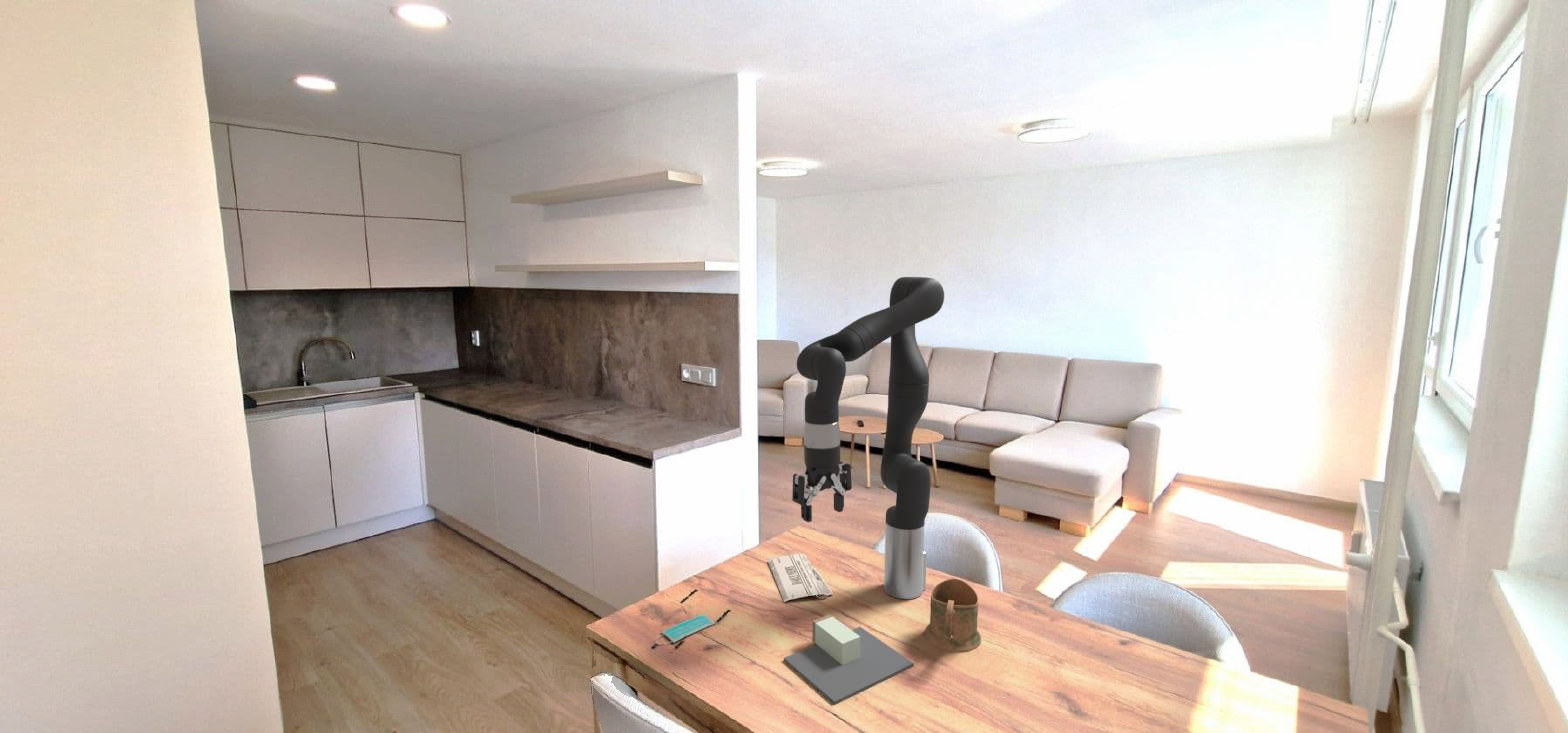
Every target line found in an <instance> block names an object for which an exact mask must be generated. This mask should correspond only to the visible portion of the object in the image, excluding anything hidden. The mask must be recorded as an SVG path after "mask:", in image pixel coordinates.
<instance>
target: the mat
mask: <svg viewBox="0 0 1568 733" xmlns="http://www.w3.org/2000/svg"><path fill="white" fill-rule="evenodd" d="M851 630H852V631H853V632H855V633H856V634H857V635H859V636H860V658H858V659H856V660H853V661H851V662H849V663H846V664H844V665H841V664H840V663H839V662H838V661H837V660H835V659H834V658H833V657H832V656H830V655H829V654H828V653H827V652H825V651H824V650H823V649H822V648H821V647H819V646H818V645H817V644H816V643H815V644H814V645H811V646H810V647H808V648H805V649H802V650H800V651H797V652H794V653H792V654H790V655H788V656H785V657H783V661H784V662H785V664H787V665H788V666H789V667H791V669H792V670H794V671H795V672H796V673H798V674H799V675H800V676H801V677H802V678H803V679H804V680H806V682H808V683H809V684H810V685H811V686H812V687H813V688H815V689H816V690H817V691H818V692H820V693H821V695H823V696H824V697H825V698H827V700H829V701H830V702H831V703H832V704H833V705H837V704H839V703H841V702H843V701H845V700H848V699H849V698H851V697H853V696H856V695H857V694H860V693H861V692H864V691H866V690H867V689H869V688H872V687H874V686H876V685H877V684H880V683H883V682H884V681H886V680H888V679H890V678H892V677H894V676H896V675H898V674H901V673H903V672H905V671H906V670H908V669H911V668H913V667H915V663H914V662H913V661H912V660H910V659H909V658H907V657H905V656H904V655H903V654H902V653H899V651H897V650H895V649H894V648H893V647H891V646H889V645H888V644H887V643H885V642H883V641H882V640H881V639H879V638H878V637H876V636H875V635H873V634H872V633H870V632H869V631H867V630H866V629H864V628H863V627H862V626H859V627H856V628H853V629H851Z"/></svg>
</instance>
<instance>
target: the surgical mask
mask: <svg viewBox="0 0 1568 733" xmlns="http://www.w3.org/2000/svg"><path fill="white" fill-rule="evenodd" d="M698 591H699V589H694V590H693V591H691V592H690V593H689V594H688V595H687V596H686V597H685V598H682V600H681V601H680V602H679V603H680V604H682V605H683V603H685V602H686V601H687V600H689V599H690V597H691V596H693V595H695V593H697V592H698ZM682 605H681V608H682V609H683V611H684V612H685V614H686V615H688V614H687V612H686V610H685V609H684V607H683V606H682ZM731 611H732V610H731V609H727V610H726V611H724V612H723V614H722V615H721V616H720V617H718V618H716V620H715V621H713V620H712V619H710V618H709V617H708V616H709V615H710V614H707V615H706V614H704V615H702V614H701V615H696V616H697V617H696V616H694V617H693V618H689V619H688V620H685V621H682V622H680V623H677V624H676V625H673V626H671V627H669V628H667V629H666V630H663V631H661V632H660V633H661V635H660V636H659V635H658V636H657V638H656V639H655V643H654V645H652V647H650V648H651V649H656V647H658V646H659V647H660V646H661V645H662V643H660V642H658V641H657V640H658V639H659V638H661V637H663V636H665V638H667V639H668V640H670V641H668V642H665V643H664V645H667V644H670V643H676V642H679V641H680V642H679V643H677V645H675V646H674V649H677V650H678V648H679V647H680V646H682V644H683V643H686V642H685V638H687V637H689V636H692V635H693V634H696V633H698V632H700V631H703V630H704V629H706V628H709V627H711V626H713V625H715V624H716V623H719V622H721V621H722V620H723V618H725V616H728V613H731ZM705 615H706V616H705ZM702 629H703V630H702Z"/></svg>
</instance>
